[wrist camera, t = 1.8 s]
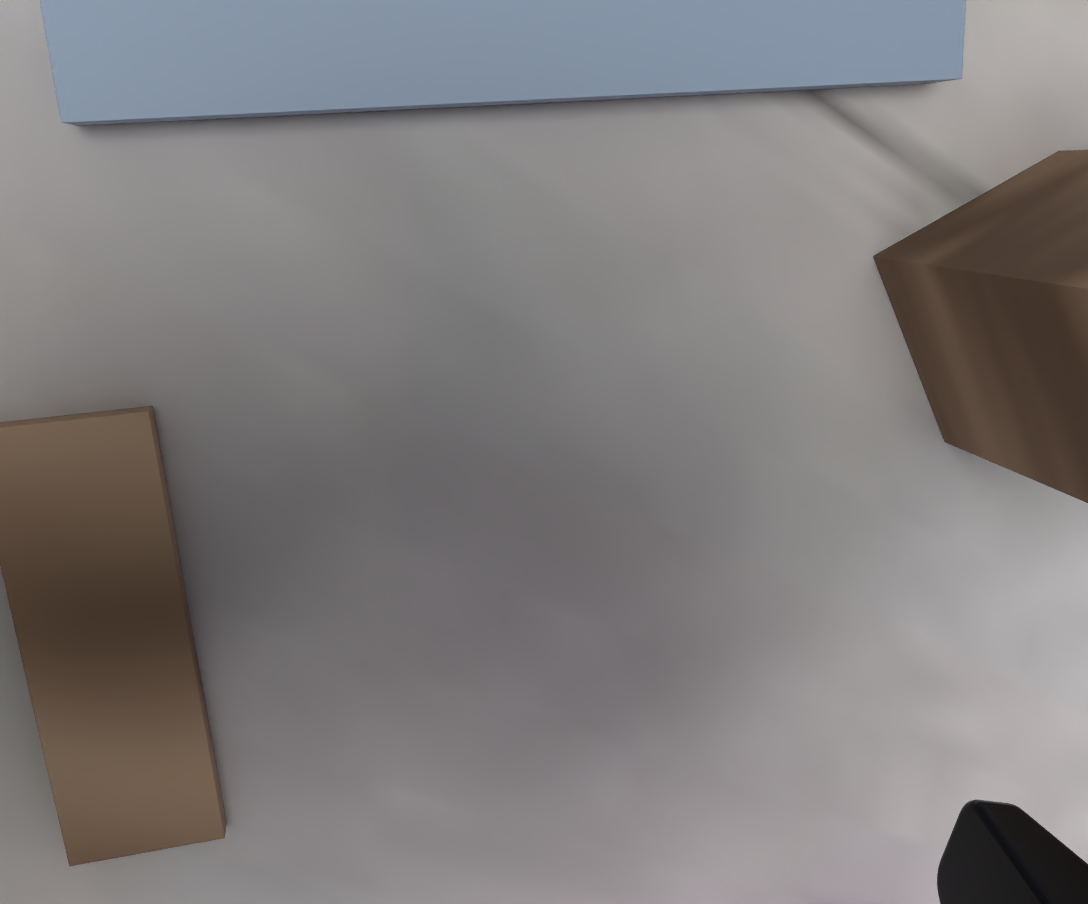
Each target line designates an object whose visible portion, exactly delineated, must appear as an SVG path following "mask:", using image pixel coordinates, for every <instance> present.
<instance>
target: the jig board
mask: <svg viewBox="0 0 1088 904" xmlns="http://www.w3.org/2000/svg"><path fill="white" fill-rule="evenodd" d="M40 5H41V10H42V16H43V22H44V27H45V33H46V39H47V44H48V50H49V55H50V61H51V67H52V72H53V78H54V84H55V89H56V95H57V101H58V106H59V112H60V118H61V123H67V124H72V125H77V126H81V125H101V124H121V123H141V122H162V121H182V120H202V119H222V118H243V117H263V116H283V115H303V114H324V113H344V112H364V111H385V110H405V109H425V108H445V107H466V106H486V105H506V104H526V103H547V102H567V101H587V100H607V99H628V98H648V97H668V96H688V95H709V94H729V93H749V92H770V91H790V90H810V89H830V88H851V87H871V86H891V85H911V84H928V83H935V82H942V81H949V80H956V79H962V70H963V50H964V31H965V11H966V0H40Z"/></svg>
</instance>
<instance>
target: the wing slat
mask: <svg viewBox="0 0 1088 904" xmlns="http://www.w3.org/2000/svg"><path fill="white" fill-rule="evenodd" d="M0 565H1V569H2V574H3V578H4V583H5V587H6V591H7V596H8V600H9V604H10V609H11V613H12V617H13V622H14V626H15V631H16V635H17V639H18V644H19V648H20V652H21V657H22V661H23V666H24V670H25V674H26V679H27V683H28V687H29V692H30V696H31V700H32V705H33V709H34V714H35V718H36V722H37V727H38V731H39V735H40V740H41V744H42V749H43V753H44V757H45V762H46V766H47V770H48V775H49V779H50V783H51V788H52V792H53V797H54V801H55V805H56V810H57V814H58V818H59V823H60V827H61V831H62V836H63V840H64V845H65V849H66V853H67V858H68V862H69V866H74V865H79V864H85V863H90V862H96V861H101V860H106V859H112V858H117V857H123V856H128V855H134V854H139V853H145V852H150V851H156V850H161V849H167V848H172V847H178V846H183V845H189V844H194V843H200V842H205V841H211V840H216V839H221V838H225V832H226V825H227V822H226V817H225V811H224V806H223V800H222V794H221V789H220V783H219V777H218V772H217V766H216V761H215V755H214V749H213V744H212V738H211V732H210V727H209V721H208V716H207V710H206V704H205V699H204V693H203V688H202V682H201V676H200V671H199V665H198V659H197V654H196V648H195V643H194V637H193V631H192V626H191V620H190V615H189V609H188V603H187V598H186V592H185V586H184V581H183V575H182V570H181V564H180V558H179V553H178V547H177V541H176V536H175V530H174V525H173V519H172V513H171V508H170V502H169V497H168V491H167V485H166V480H165V474H164V468H163V463H162V457H161V452H160V446H159V440H158V435H157V429H156V423H155V418H154V412H153V407H152V406H147V407H138V408H129V409H120V410H110V411H101V412H92V413H83V414H74V415H65V416H55V417H46V418H37V419H28V420H19V421H10V422H1V423H0Z"/></svg>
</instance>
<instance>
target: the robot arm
mask: <svg viewBox="0 0 1088 904" xmlns="http://www.w3.org/2000/svg"><path fill="white" fill-rule="evenodd" d="M937 887H938V894H939V899H940V904H1088V864H1087V863H1086V862H1085V861H1083V860H1082V859H1081V858H1080V857H1079V856H1077V855H1076V854H1075V853H1074V852H1073V851H1071V850H1070V849H1069V848H1068V847H1066V846H1065V845H1064V844H1063V843H1062V842H1060V841H1059V840H1058V839H1057V838H1056V837H1054V836H1053V835H1052V834H1051V833H1050V832H1048V831H1047V830H1046V829H1045V828H1044V827H1042V826H1041V825H1040V824H1039V823H1037V822H1036V821H1035V820H1034V819H1033V818H1031V817H1030V816H1029V815H1028V814H1027V813H1025V812H1024V811H1023V810H1022V809H1020V808H1019V807H1017V806H1015V805H1013V804H1009V803H1002V802H993V801H984V800H972V801H969V802H968V803H966V804H965V805H964V806H963V808H962V810H961V812H960V814H959V816H958V819H957V821H956V824H955V826H954V829H953V831H952V834H951V836H950V838H949V841H948V843H947V846H946V848H945V851H944V853H943V856H942V858H941V861H940V864H939V868H938V874H937Z"/></svg>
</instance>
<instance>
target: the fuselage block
mask: <svg viewBox="0 0 1088 904" xmlns="http://www.w3.org/2000/svg"><path fill="white" fill-rule="evenodd" d="M873 257H874V260H875V262H876V265H877V268H878V270H879V273H880V275H881V278H882V280H883V283H884V286H885V288H886V291H887V293H888V296H889V299H890V301H891V304H892V306H893V309H894V312H895V314H896V317H897V319H898V322H899V324H900V327H901V330H902V332H903V335H904V337H905V340H906V343H907V345H908V348H909V350H910V353H911V356H912V358H913V361H914V363H915V366H916V368H917V371H918V374H919V376H920V379H921V381H922V384H923V387H924V389H925V392H926V394H927V397H928V400H929V402H930V405H931V407H932V410H933V412H934V415H935V418H936V420H937V423H938V425H939V428H940V431H941V433H942V436H943V438H944V441H945V442H946V443H949V444H951V445H953V446H956V447H958V448H960V449H963V450H965V451H968V452H970V453H972V454H975V455H977V456H979V457H982V458H984V459H986V460H989V461H991V462H993V463H996V464H998V465H1000V466H1003V467H1005V468H1007V469H1010V470H1012V471H1014V472H1017V473H1019V474H1021V475H1024V476H1026V477H1028V478H1031V479H1033V480H1035V481H1038V482H1040V483H1042V484H1045V485H1047V486H1049V487H1052V488H1054V489H1056V490H1059V491H1061V492H1063V493H1066V494H1068V495H1070V496H1073V497H1075V498H1077V499H1080V500H1082V501H1084V502H1087V503H1088V150H1074V151H1058V152H1057V153H1055V154H1053V155H1051V156H1049V157H1048V158H1046V159H1044V160H1042V161H1041V162H1039V163H1037V164H1035V165H1034V166H1032V167H1030V168H1028V169H1027V170H1025V171H1023V172H1021V173H1019V174H1018V175H1016V176H1014V177H1012V178H1011V179H1009V180H1007V181H1005V182H1004V183H1002V184H1000V185H998V186H997V187H995V188H993V189H991V190H989V191H988V192H986V193H984V194H982V195H981V196H979V197H977V198H975V199H974V200H972V201H970V202H968V203H967V204H965V205H963V206H961V207H959V208H958V209H956V210H954V211H952V212H951V213H949V214H947V215H945V216H944V217H942V218H940V219H938V220H937V221H935V222H933V223H931V224H929V225H928V226H926V227H924V228H922V229H921V230H919V231H917V232H915V233H914V234H912V235H910V236H908V237H907V238H905V239H903V240H901V241H899V242H898V243H896V244H894V245H892V246H891V247H889V248H887V249H885V250H884V251H882V252H880V253H878V254H877V255H875V256H873Z"/></svg>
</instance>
